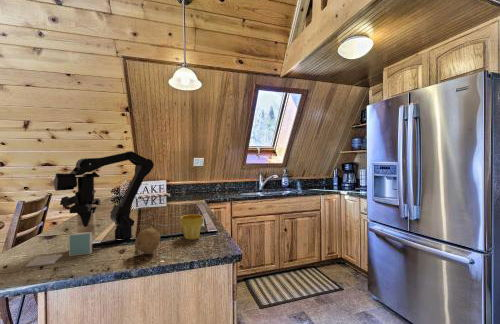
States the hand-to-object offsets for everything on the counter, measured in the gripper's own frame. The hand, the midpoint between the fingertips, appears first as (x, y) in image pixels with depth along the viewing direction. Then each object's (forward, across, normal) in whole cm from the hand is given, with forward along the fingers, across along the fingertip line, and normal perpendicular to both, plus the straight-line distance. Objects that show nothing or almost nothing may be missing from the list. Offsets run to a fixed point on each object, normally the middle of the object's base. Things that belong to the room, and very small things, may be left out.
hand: (86, 225), depth 105 cm
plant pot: (+9, 0, +43) cm, 44 cm away
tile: (+9, +7, 0) cm, 12 cm away
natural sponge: (+9, +16, +25) cm, 31 cm away
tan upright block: (+4, 0, 0) cm, 4 cm away
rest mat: (+9, +11, -10) cm, 18 cm away
